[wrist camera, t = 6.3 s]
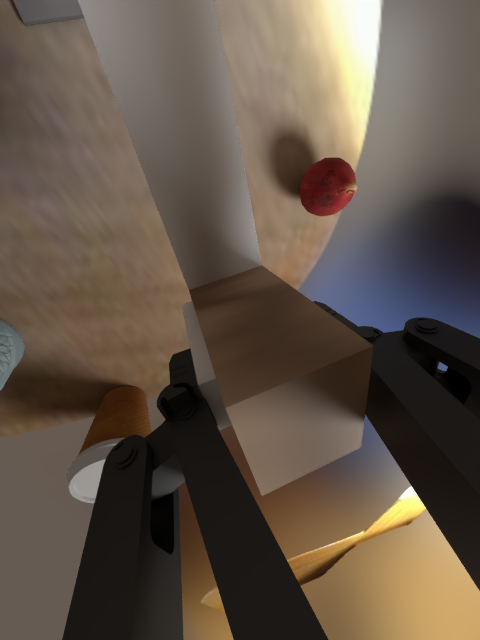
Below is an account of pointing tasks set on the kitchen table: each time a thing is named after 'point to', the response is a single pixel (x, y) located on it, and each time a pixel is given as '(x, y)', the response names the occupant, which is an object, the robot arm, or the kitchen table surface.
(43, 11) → the mat
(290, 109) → the kitchen table surface
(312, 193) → the onion
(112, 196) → the kitchen table surface
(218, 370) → the tan l-shaped piece
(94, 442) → the disposable coffee cup
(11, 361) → the grey-green hollow open cylinder
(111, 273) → the kitchen table surface
